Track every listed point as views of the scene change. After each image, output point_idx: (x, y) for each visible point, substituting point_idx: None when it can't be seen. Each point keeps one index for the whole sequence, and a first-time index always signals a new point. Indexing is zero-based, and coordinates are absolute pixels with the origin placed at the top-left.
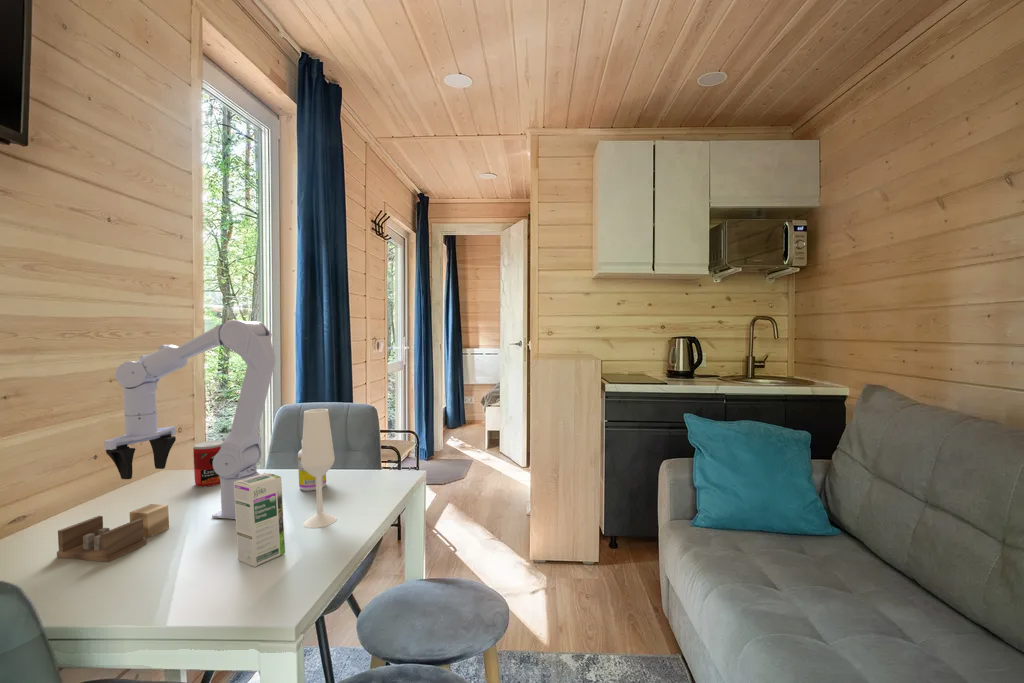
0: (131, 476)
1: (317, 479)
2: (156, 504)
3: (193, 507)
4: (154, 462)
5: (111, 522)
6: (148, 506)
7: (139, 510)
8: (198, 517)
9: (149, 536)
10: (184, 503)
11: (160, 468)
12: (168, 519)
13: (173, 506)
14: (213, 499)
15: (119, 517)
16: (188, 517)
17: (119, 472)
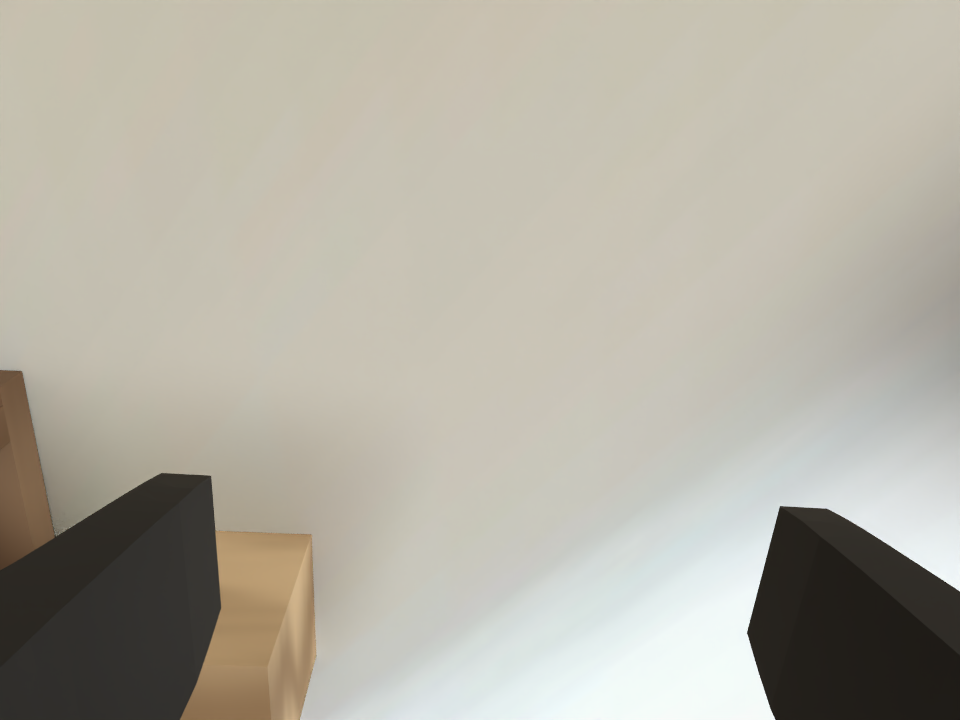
0: (200, 641)
1: None
2: (270, 715)
3: (694, 524)
4: (842, 561)
5: (322, 101)
6: (213, 695)
7: None
8: (502, 693)
9: None
10: (797, 376)
11: (757, 604)
12: (301, 705)
13: (725, 339)
14: None
15: (440, 51)
16: (497, 636)
17: (77, 532)
